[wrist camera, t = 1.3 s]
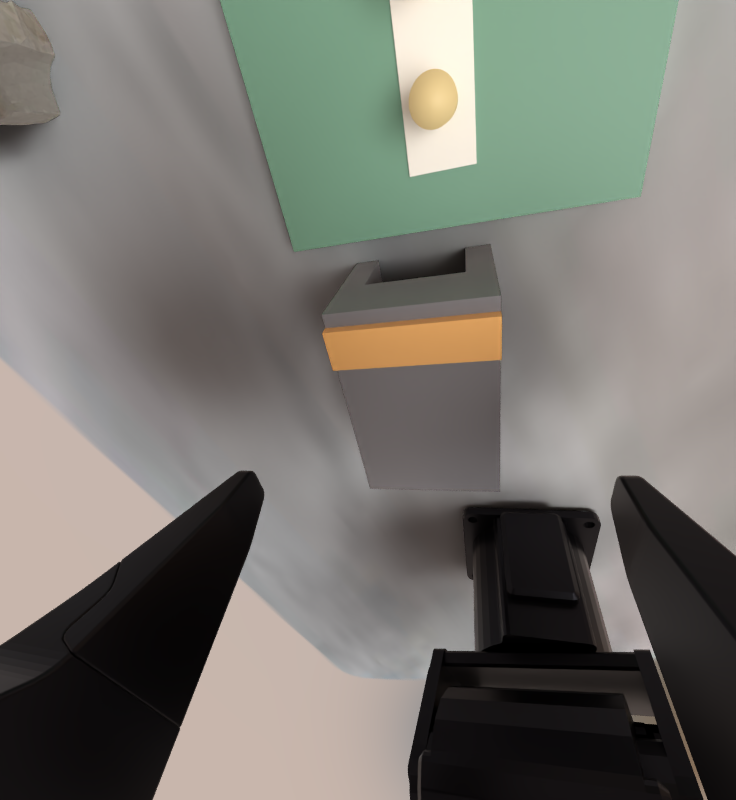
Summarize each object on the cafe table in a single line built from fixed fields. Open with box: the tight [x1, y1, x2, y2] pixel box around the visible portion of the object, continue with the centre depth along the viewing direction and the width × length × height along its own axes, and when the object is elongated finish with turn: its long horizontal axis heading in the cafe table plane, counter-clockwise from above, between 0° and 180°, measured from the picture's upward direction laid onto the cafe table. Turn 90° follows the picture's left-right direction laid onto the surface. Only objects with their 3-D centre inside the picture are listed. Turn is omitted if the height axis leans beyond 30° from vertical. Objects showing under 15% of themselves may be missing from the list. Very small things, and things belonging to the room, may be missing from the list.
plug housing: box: [322, 244, 502, 492], centre depth 13 cm, size 7×5×5 cm, turn 12°
